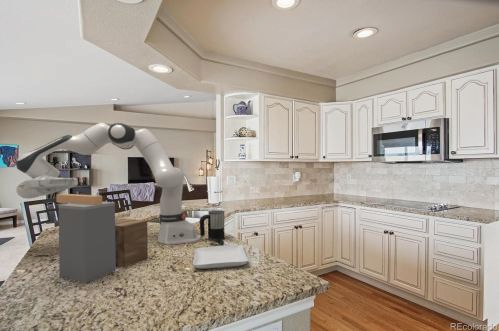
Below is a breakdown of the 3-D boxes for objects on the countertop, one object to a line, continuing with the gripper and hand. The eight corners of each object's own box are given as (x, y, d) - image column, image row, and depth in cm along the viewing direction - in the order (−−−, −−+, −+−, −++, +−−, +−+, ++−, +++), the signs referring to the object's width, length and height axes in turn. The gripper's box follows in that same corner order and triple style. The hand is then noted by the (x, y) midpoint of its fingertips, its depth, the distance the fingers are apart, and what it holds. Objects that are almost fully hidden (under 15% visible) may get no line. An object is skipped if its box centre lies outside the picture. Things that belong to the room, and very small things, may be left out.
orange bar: (56, 202, 104) (56, 194, 104) (64, 201, 107) (64, 193, 107) (94, 205, 95) (94, 196, 95) (102, 203, 98) (102, 195, 98)
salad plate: (192, 273, 99) (192, 264, 99) (195, 254, 120) (195, 247, 120) (249, 269, 102) (249, 260, 102) (242, 251, 123) (241, 244, 123)
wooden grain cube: (100, 262, 111) (99, 223, 111) (124, 253, 122) (124, 218, 122) (124, 267, 105) (124, 226, 105) (147, 257, 116) (147, 220, 116)
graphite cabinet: (59, 277, 96) (58, 205, 96) (91, 265, 107) (90, 200, 107) (85, 283, 91) (84, 207, 91) (115, 270, 101) (114, 202, 101)
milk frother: (218, 235, 151) (218, 209, 151) (236, 241, 140) (236, 212, 140) (196, 240, 141) (196, 212, 141) (215, 247, 130) (214, 216, 130)
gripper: (15, 179, 112) (34, 173, 106) (66, 178, 131) (84, 173, 125) (16, 194, 111) (36, 189, 106) (67, 190, 130) (85, 186, 125)
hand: (62, 180), depth 116 cm, fingers open, 8 cm apart
